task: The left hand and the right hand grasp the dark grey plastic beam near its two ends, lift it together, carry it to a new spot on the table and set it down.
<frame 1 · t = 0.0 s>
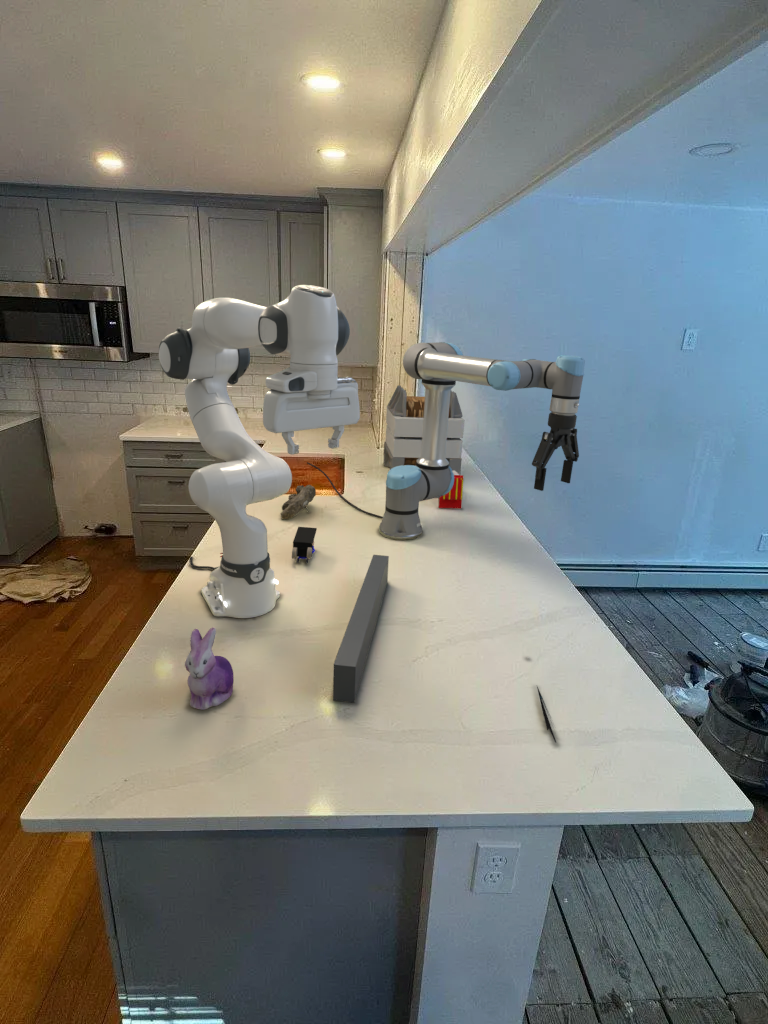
left hand: (313, 450, 111), 48 cm above the counter, tool pointing down, fingers open, 8 cm apart
right hand: (552, 485, 166), 28 cm above the counter, tool pointing down, fingers open, 13 cm apart
figurine: (211, 696, 114), on the counter
white slatted crate: (419, 473, 275), on the counter
figurine character: (304, 556, 178), on the counter
fossil: (299, 511, 217), on the counter
beam: (365, 631, 139), on the counter
toy: (445, 498, 240), on the counter
feather: (539, 697, 118), on the counter
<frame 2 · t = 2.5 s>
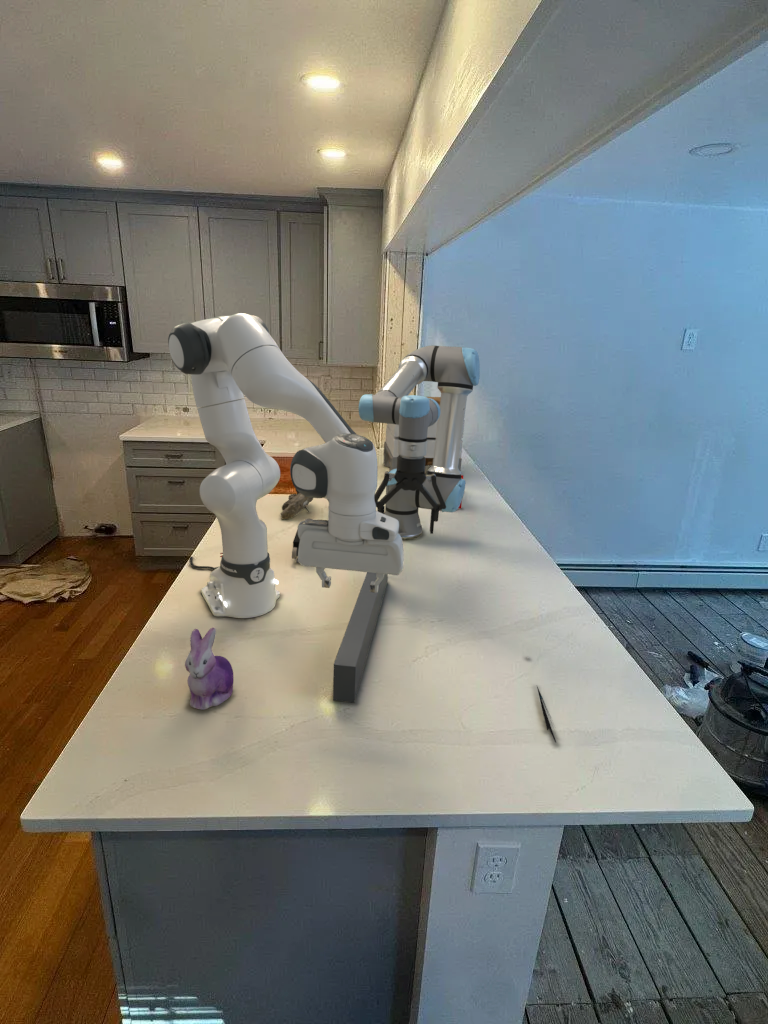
left hand: (350, 588, 110), 23 cm above the counter, tool pointing down, fingers open, 8 cm apart
right hand: (406, 531, 156), 17 cm above the counter, tool pointing down, fingers open, 13 cm apart
nothing on the counter moved.
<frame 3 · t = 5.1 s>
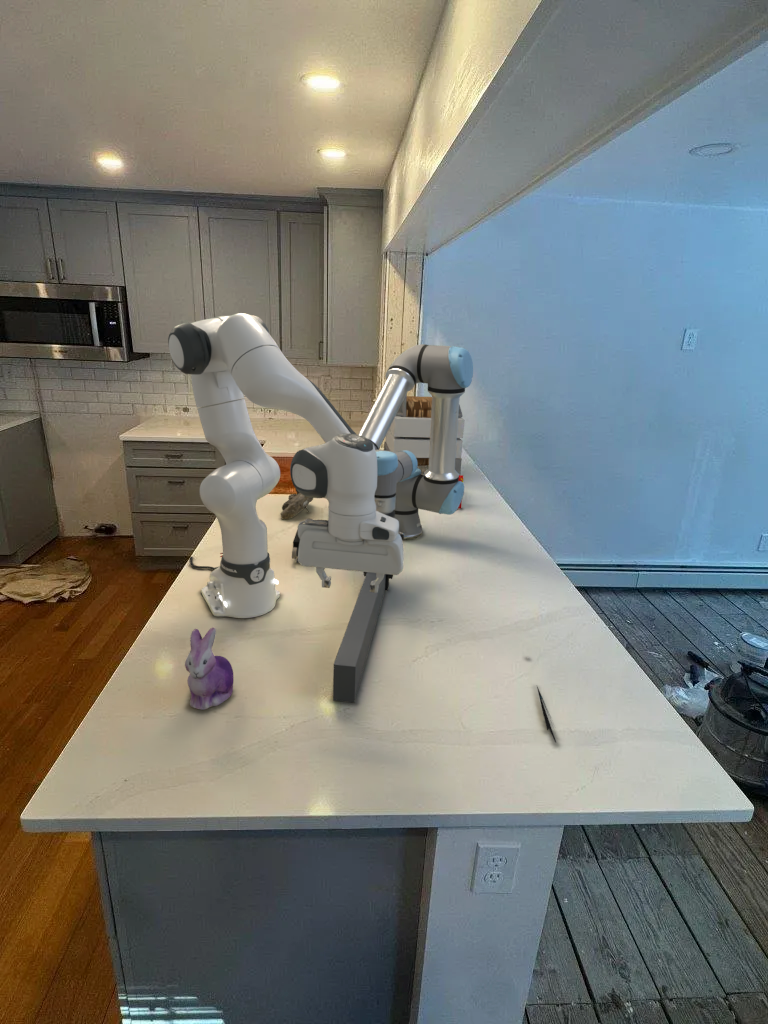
left hand: (350, 588, 110), 23 cm above the counter, tool pointing down, fingers open, 8 cm apart
right hand: (377, 587, 160), 1 cm above the counter, tool pointing down, fingers closed on beam, 4 cm apart
beam: (365, 631, 139), on the counter, touching right hand
everything else where it was.
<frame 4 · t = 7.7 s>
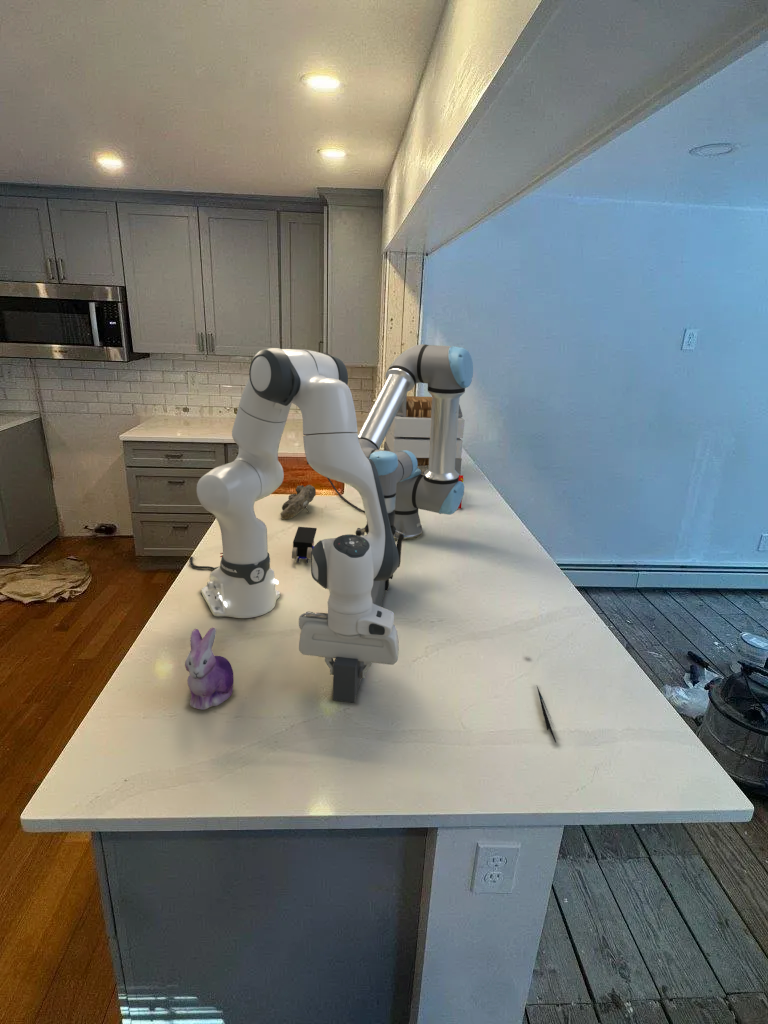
left hand: (348, 674, 117), 3 cm above the counter, tool pointing down, fingers closed on beam, 4 cm apart
right hand: (377, 587, 160), 1 cm above the counter, tool pointing down, fingers closed on beam, 4 cm apart
beam: (365, 631, 139), on the counter, touching right hand, left hand
everything else where it was.
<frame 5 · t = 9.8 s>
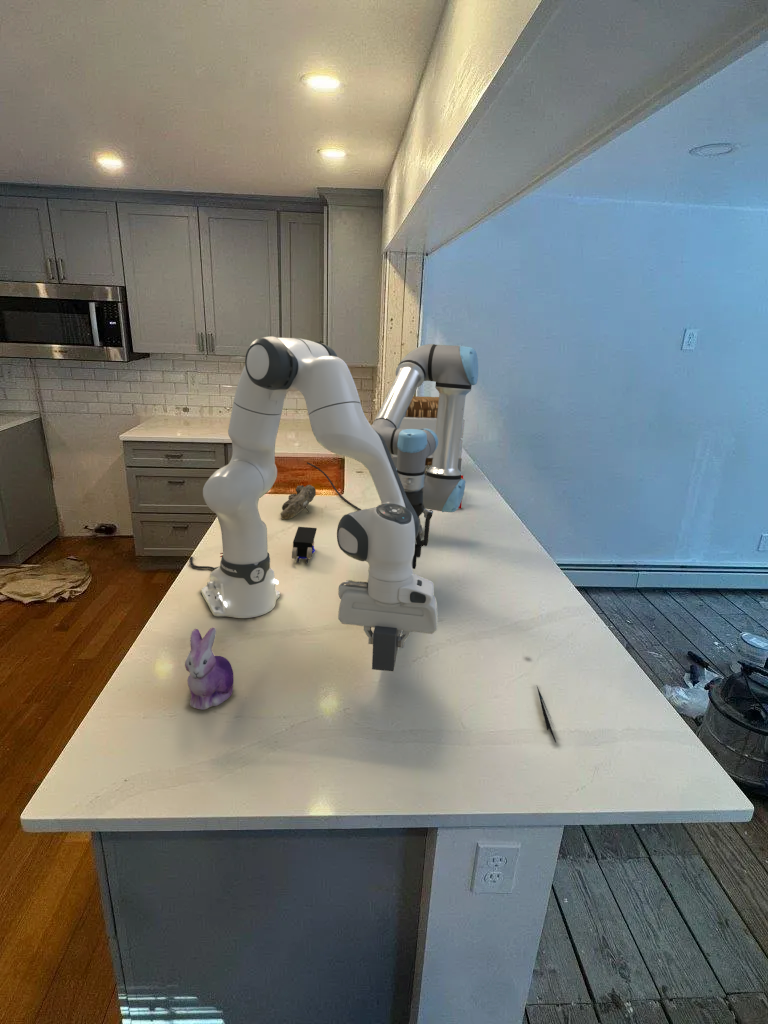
left hand: (386, 644, 118), 9 cm above the counter, tool pointing down, fingers closed on beam, 4 cm apart
right hand: (405, 565, 161), 6 cm above the counter, tool pointing down, fingers closed on beam, 4 cm apart
beam: (396, 606, 140), point 6 cm above the counter, touching right hand, left hand
everything else where it was.
when the right hand's fingers open (2 cm above the counter, at t = 11.5 s): beam drops 1 cm, on the counter.
when the left hand's fingers open (4 cm above the counter, at t = 11.7 s): beam stays where it is, on the counter.
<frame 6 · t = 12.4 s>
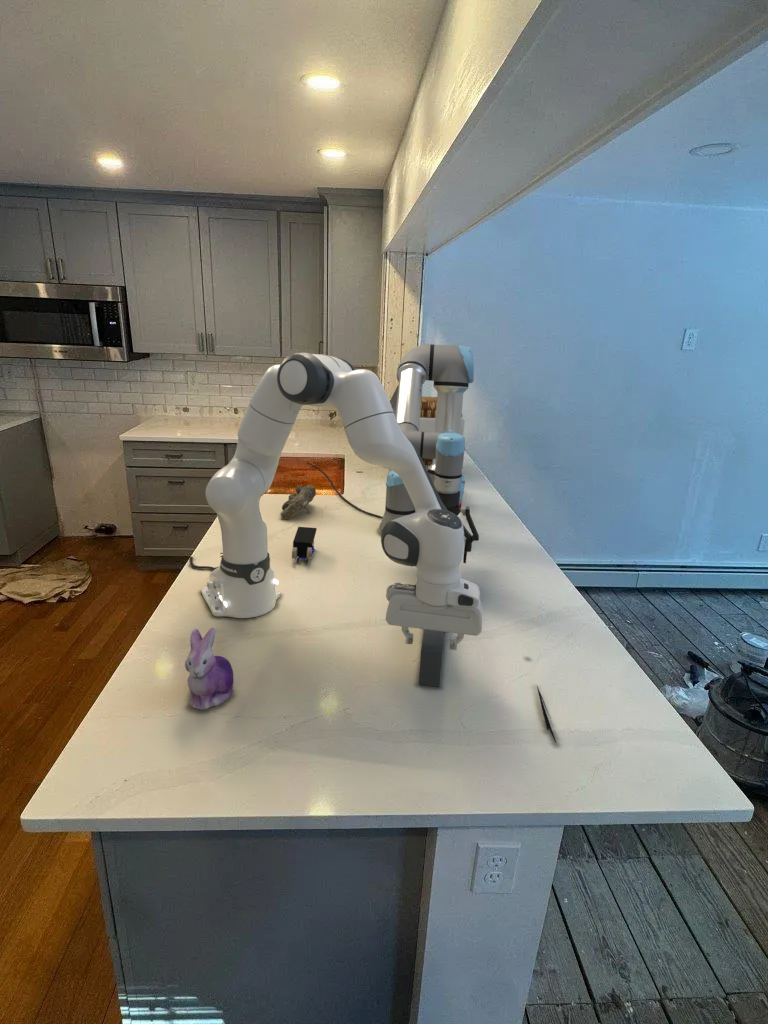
left hand: (431, 645, 121), 7 cm above the counter, tool pointing down, fingers open, 8 cm apart
right hand: (440, 559, 164), 7 cm above the counter, tool pointing down, fingers open, 13 cm apart
beam: (435, 621, 145), on the counter
everything else where it was.
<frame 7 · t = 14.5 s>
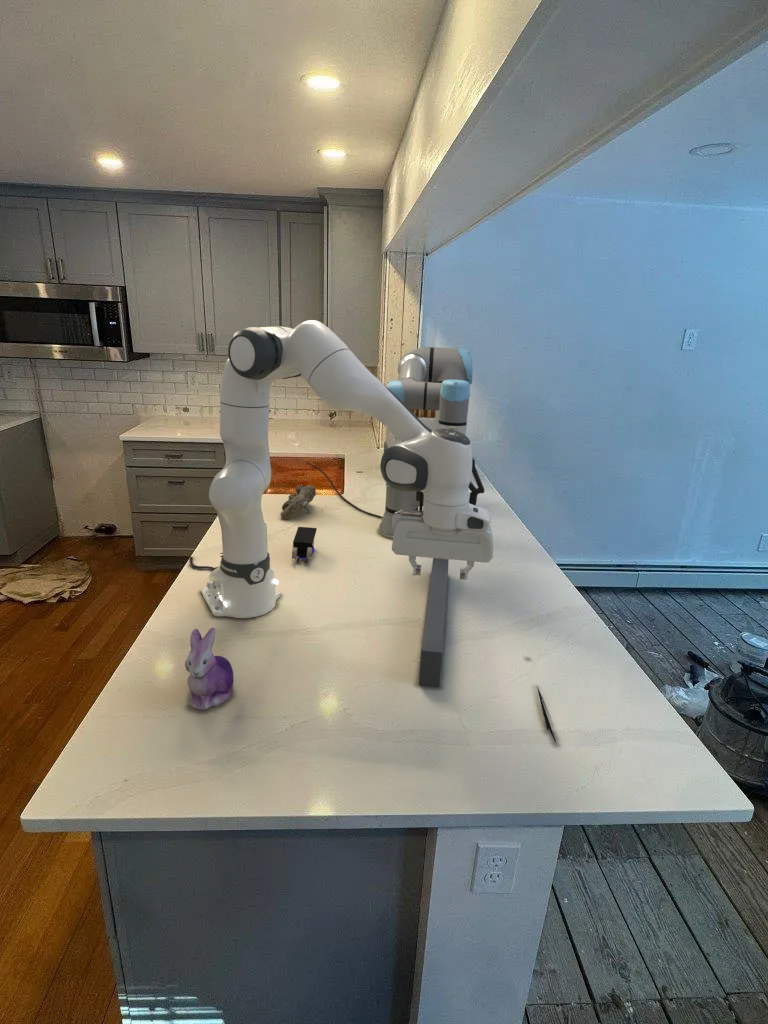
left hand: (439, 576, 116), 24 cm above the counter, tool pointing down, fingers open, 8 cm apart
right hand: (444, 514, 159), 21 cm above the counter, tool pointing down, fingers open, 13 cm apart
nothing on the counter moved.
at the end: beam inside the target area (0.2 cm from its centre), on the counter; beam tilted 0°; beam never tilted more than 2° during the clip; both hands held the beam at the same time; the left hand is holding nothing; the right hand is holding nothing; beam at rest at the end (0.0 cm/s) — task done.
